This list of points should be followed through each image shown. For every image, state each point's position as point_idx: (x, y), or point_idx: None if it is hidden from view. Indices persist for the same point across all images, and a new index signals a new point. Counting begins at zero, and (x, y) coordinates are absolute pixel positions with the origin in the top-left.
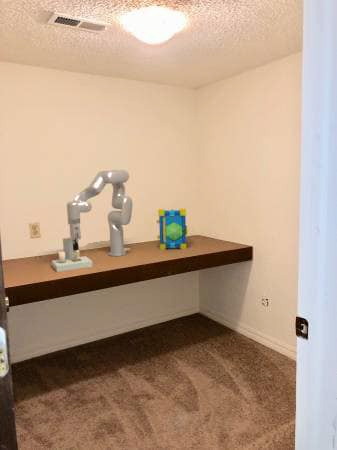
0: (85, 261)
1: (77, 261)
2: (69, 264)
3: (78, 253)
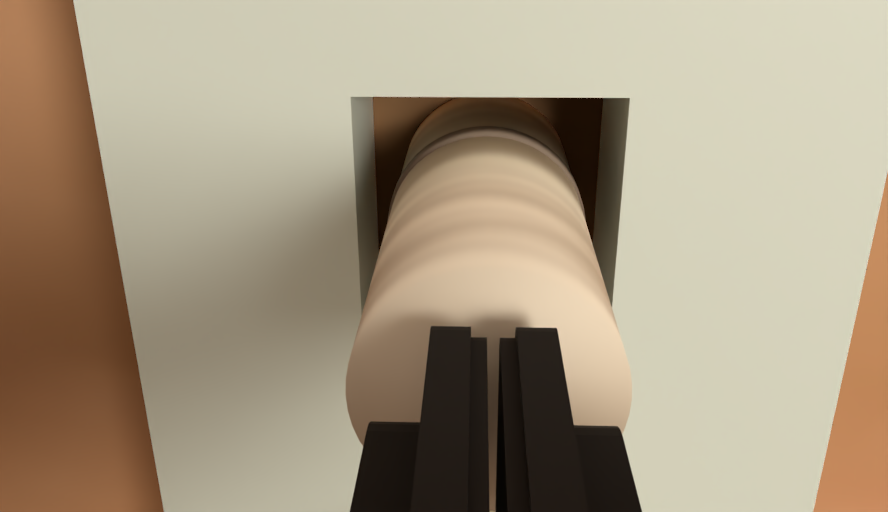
0: (811, 21)
1: (642, 237)
2: (815, 475)
3: (595, 274)
